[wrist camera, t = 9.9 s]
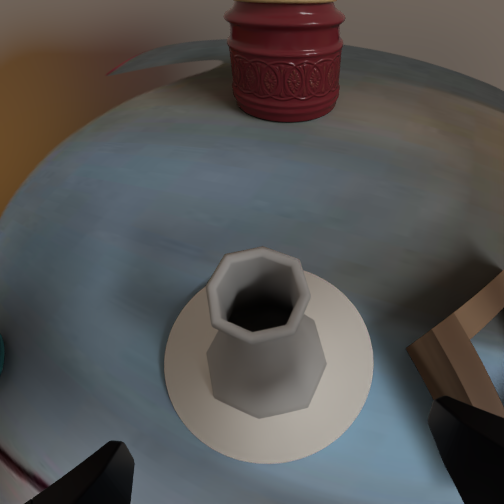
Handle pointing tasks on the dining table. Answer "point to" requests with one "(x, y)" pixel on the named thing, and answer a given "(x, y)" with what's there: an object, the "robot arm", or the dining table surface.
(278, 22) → the canister
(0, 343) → the beverage bottle
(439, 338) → the walnut collar
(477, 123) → the dining table surface
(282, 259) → the flask
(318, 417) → the ceramic plate
